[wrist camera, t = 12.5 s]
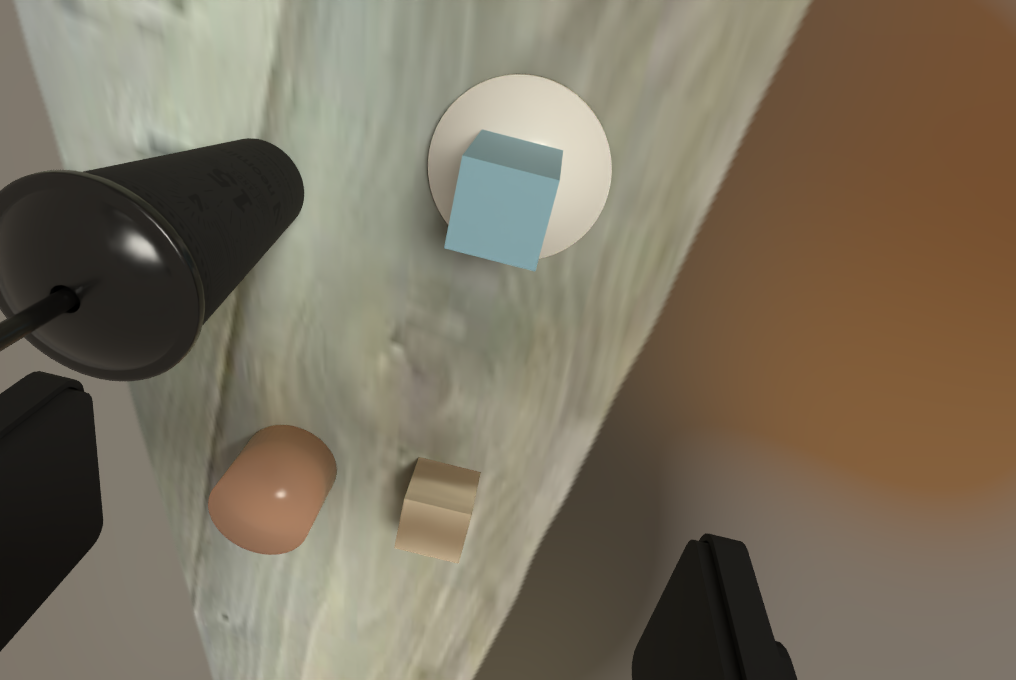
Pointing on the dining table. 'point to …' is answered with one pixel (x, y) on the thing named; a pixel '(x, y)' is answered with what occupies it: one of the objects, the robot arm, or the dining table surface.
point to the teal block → (504, 199)
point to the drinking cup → (137, 252)
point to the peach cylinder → (273, 490)
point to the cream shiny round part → (535, 118)
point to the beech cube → (437, 510)
